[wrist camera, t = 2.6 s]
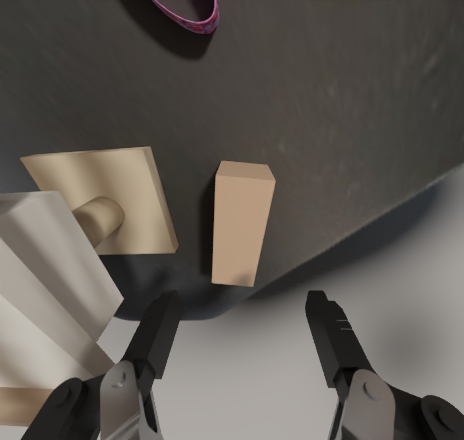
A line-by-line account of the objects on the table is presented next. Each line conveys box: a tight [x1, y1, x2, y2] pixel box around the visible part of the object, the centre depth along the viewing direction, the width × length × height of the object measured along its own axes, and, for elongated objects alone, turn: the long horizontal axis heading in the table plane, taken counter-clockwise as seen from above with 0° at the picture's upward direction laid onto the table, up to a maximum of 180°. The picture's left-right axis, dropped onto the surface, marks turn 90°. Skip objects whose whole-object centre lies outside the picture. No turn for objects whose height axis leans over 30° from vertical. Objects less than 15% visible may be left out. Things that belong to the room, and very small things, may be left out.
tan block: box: [212, 161, 275, 287], centre depth 19 cm, size 4×12×5 cm, turn 175°
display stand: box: [0, 147, 178, 431], centre depth 14 cm, size 12×18×15 cm, turn 4°
